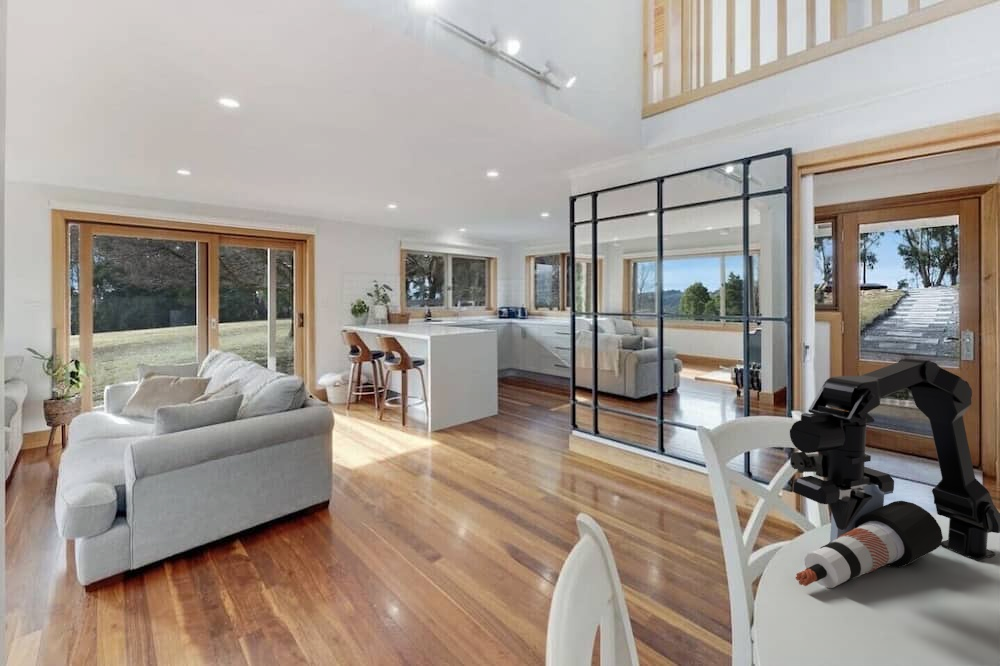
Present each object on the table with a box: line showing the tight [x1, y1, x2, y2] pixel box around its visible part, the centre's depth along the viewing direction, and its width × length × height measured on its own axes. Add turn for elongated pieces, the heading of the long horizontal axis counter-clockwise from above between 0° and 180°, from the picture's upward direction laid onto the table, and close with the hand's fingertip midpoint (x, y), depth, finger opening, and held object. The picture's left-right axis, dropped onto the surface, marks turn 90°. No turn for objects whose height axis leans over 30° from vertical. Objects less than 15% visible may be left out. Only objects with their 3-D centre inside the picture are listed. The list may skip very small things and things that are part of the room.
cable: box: [795, 500, 943, 589], centre depth 89 cm, size 10×34×10 cm, turn 112°
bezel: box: [829, 484, 894, 542], centre depth 97 cm, size 14×4×14 cm, turn 109°
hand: (841, 528), depth 85 cm, fingers closed
